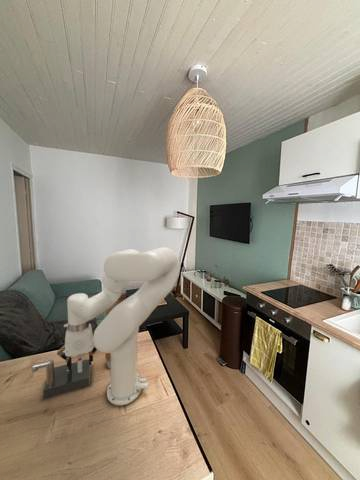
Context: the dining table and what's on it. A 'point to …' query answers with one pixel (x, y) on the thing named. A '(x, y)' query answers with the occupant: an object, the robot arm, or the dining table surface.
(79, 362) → the tap handle
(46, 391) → the base
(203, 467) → the dining table surface
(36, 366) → the spout
